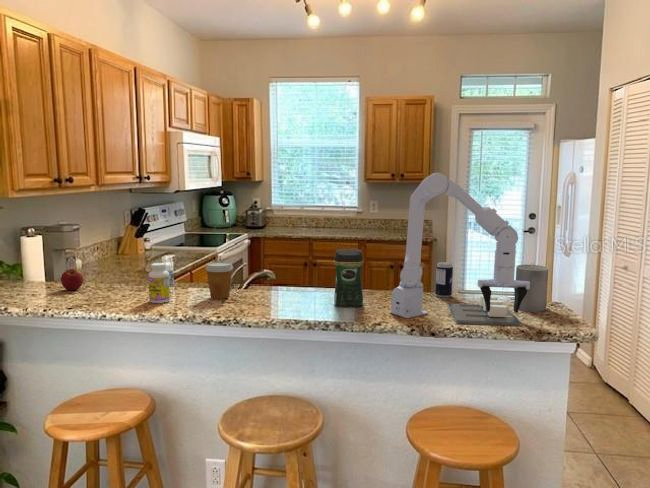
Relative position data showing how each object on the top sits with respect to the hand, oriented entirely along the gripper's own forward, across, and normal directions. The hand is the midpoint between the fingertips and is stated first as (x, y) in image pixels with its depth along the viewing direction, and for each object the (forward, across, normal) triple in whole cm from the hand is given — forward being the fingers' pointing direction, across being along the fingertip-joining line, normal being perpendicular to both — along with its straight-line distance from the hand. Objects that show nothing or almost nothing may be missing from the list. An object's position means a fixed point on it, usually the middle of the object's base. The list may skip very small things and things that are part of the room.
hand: (501, 311), depth 146 cm
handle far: (+1, -1, +12) cm, 12 cm away
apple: (+3, -149, +18) cm, 150 cm away
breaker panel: (+3, -5, +4) cm, 7 cm away
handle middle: (+1, -1, +6) cm, 6 cm away
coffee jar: (+3, -47, +11) cm, 48 cm away
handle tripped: (+1, -1, 0) cm, 2 cm away
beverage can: (+3, -14, +28) cm, 32 cm away
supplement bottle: (+3, -110, +7) cm, 110 cm away
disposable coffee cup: (+3, -92, +15) cm, 93 cm away
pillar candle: (+3, +12, +15) cm, 20 cm away
